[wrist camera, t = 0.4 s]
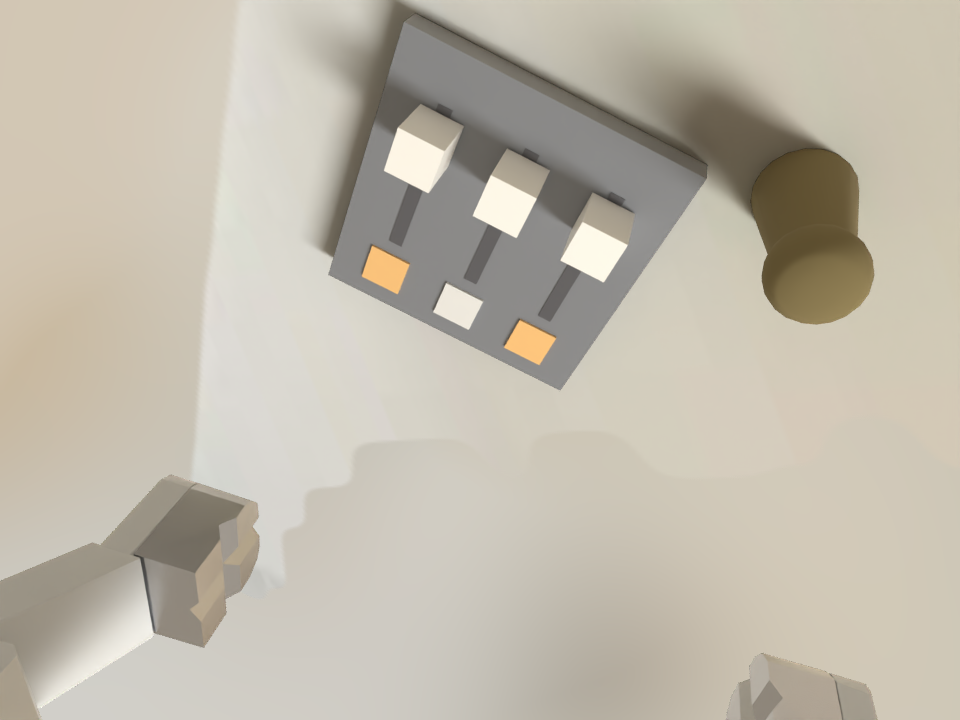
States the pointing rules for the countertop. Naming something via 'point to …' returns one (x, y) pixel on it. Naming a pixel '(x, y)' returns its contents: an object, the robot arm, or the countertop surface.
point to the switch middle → (511, 193)
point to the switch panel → (478, 245)
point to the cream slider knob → (423, 148)
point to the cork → (811, 236)
